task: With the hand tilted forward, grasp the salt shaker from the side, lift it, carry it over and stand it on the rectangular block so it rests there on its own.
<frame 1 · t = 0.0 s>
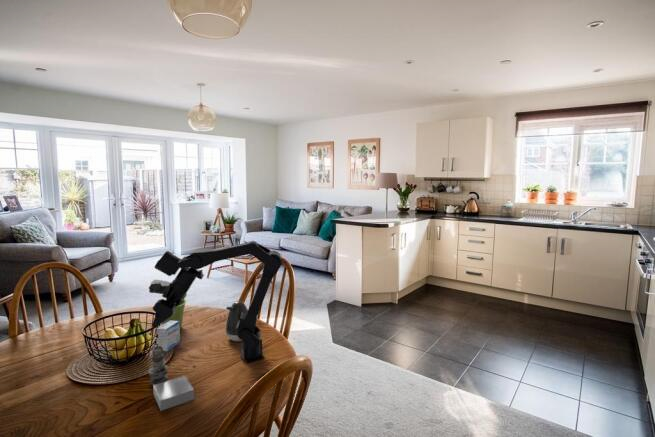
hand: (157, 321, 122), 15 cm above the table, tool tilted 35°, fingers open, 9 cm apart
plant pot: (172, 329, 151), on the table
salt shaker: (159, 380, 113), on the table
medicine box: (168, 347, 136), on the table
pump dispenser: (238, 339, 143), on the table
rectangular block: (173, 397, 105), on the table
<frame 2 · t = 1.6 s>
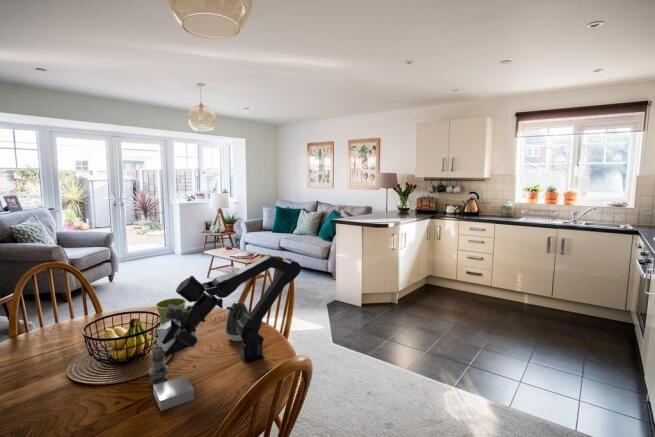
hand: (163, 349, 113), 10 cm above the table, tool tilted 45°, fingers open, 9 cm apart
nothing on the table moved.
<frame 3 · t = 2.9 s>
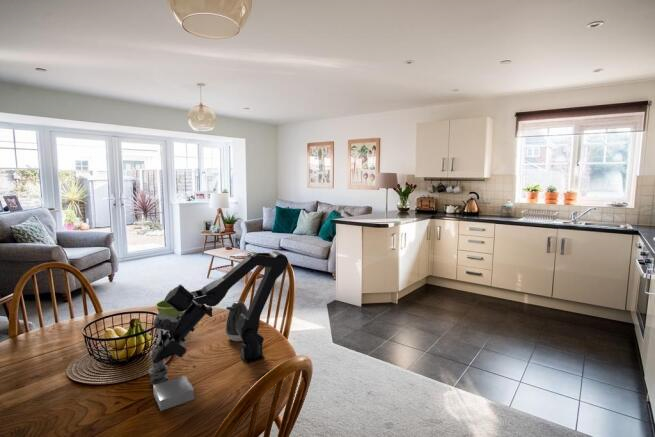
hand: (153, 359, 112), 7 cm above the table, tool tilted 45°, fingers closed on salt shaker, 4 cm apart
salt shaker: (159, 380, 113), on the table, touching gripper
everything else where it was.
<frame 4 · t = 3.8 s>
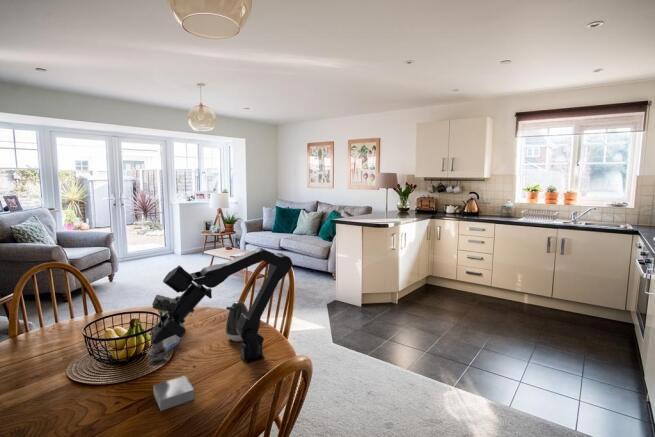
hand: (152, 340, 111), 13 cm above the table, tool tilted 45°, fingers closed on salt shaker, 4 cm apart
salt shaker: (158, 362, 113), point 6 cm above the table, touching gripper
everything else where it was.
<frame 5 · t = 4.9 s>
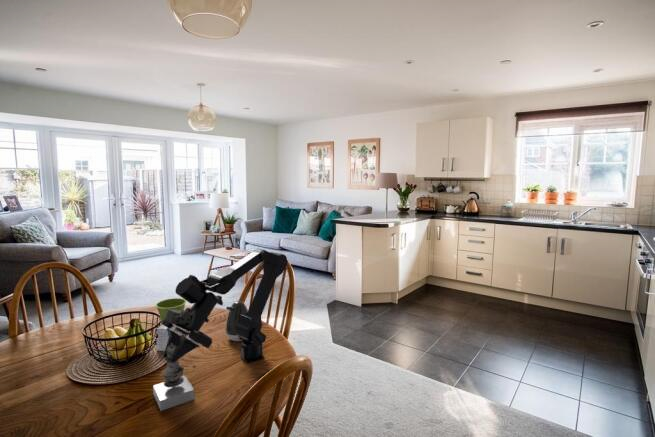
hand: (168, 359, 102), 12 cm above the table, tool tilted 45°, fingers closed on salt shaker, 4 cm apart
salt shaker: (174, 382, 104), point 4 cm above the table, touching gripper
everything else where it was.
when the fingers open (11 cm above the table, at t = 5.3 s): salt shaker stays where it is, resting on rectangular block.
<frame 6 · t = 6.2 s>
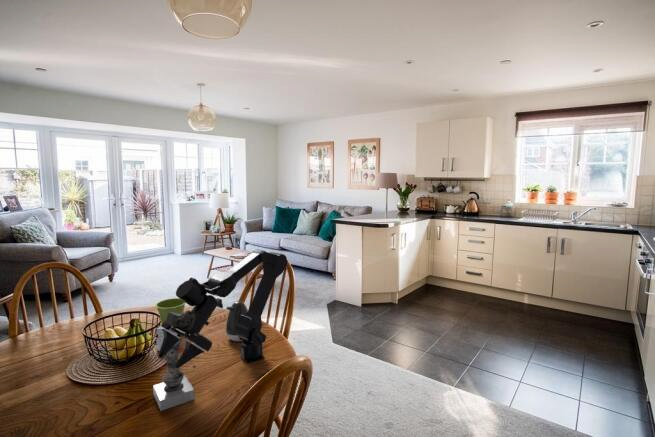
hand: (167, 362, 102), 11 cm above the table, tool tilted 45°, fingers open, 9 cm apart
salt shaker: (174, 388, 104), point 3 cm above the table, touching rectangular block
everything else where it was.
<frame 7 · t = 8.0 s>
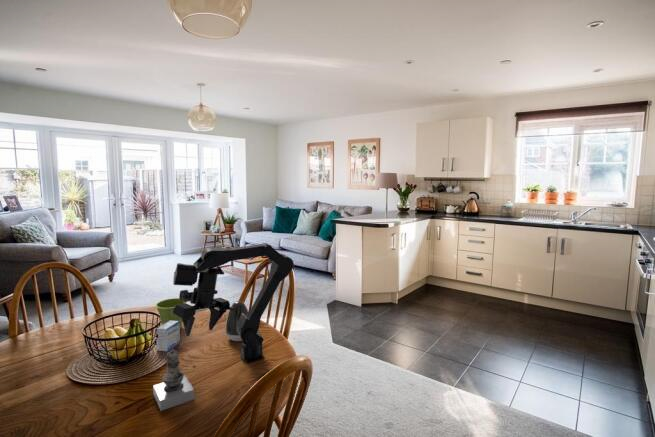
hand: (199, 332, 119), 13 cm above the table, tool pointing down, fingers open, 9 cm apart
nothing on the table moved.
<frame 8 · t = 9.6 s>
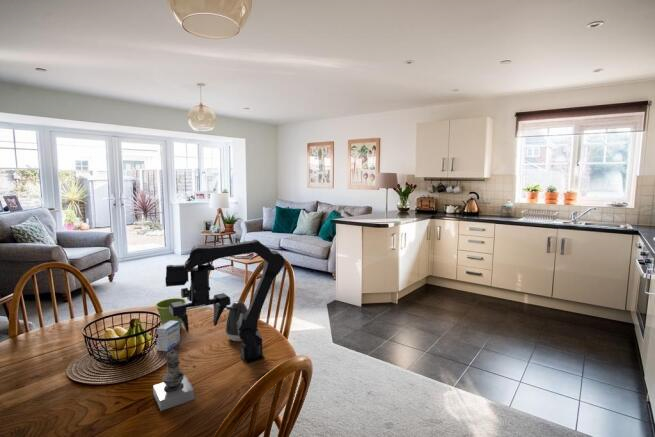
hand: (201, 328, 121), 13 cm above the table, tool pointing down, fingers open, 9 cm apart
nothing on the table moved.
at the end: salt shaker 0.2 cm off-centre on the rectangular block, point 2.8 cm above the rectangular block's base; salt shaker tilted 0°; the gripper is holding nothing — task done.
